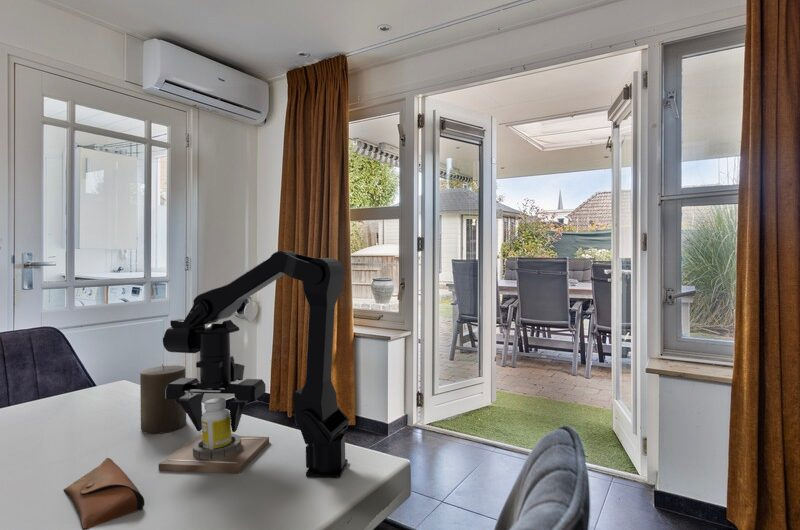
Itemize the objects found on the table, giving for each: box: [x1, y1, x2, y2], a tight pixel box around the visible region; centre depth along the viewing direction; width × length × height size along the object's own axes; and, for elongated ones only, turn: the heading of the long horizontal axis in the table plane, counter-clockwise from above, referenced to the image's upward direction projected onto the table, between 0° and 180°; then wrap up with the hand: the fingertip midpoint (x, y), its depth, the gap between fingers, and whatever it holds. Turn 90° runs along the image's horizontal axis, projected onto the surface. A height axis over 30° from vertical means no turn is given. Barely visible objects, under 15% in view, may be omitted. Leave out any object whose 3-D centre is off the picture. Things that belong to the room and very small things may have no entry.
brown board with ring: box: [158, 433, 270, 474], centre depth 92 cm, size 16×14×3 cm
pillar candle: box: [139, 364, 187, 435], centre depth 108 cm, size 10×10×15 cm
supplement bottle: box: [201, 397, 232, 450], centre depth 92 cm, size 5×5×10 cm
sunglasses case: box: [63, 457, 145, 530], centre depth 77 cm, size 18×7×7 cm, turn 46°
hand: (217, 430), depth 92 cm, fingers open, 7 cm apart
